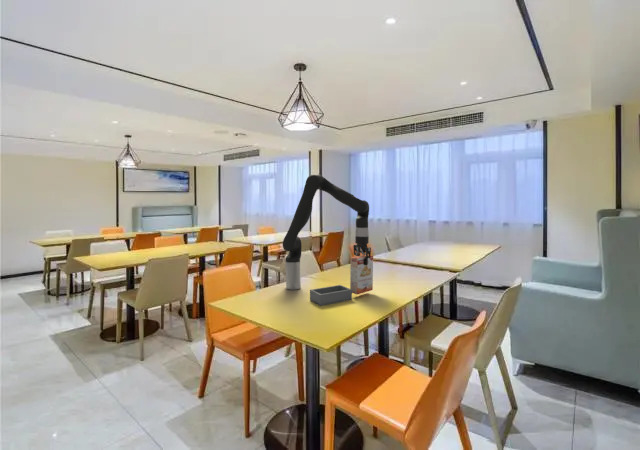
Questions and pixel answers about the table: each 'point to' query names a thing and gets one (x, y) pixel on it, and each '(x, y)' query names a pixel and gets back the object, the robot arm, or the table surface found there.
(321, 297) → the bin
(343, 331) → the table surface
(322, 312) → the table surface
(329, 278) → the table surface
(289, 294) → the table surface
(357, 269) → the cracker box
